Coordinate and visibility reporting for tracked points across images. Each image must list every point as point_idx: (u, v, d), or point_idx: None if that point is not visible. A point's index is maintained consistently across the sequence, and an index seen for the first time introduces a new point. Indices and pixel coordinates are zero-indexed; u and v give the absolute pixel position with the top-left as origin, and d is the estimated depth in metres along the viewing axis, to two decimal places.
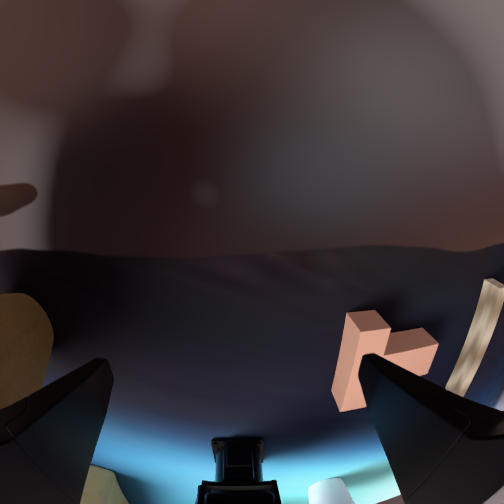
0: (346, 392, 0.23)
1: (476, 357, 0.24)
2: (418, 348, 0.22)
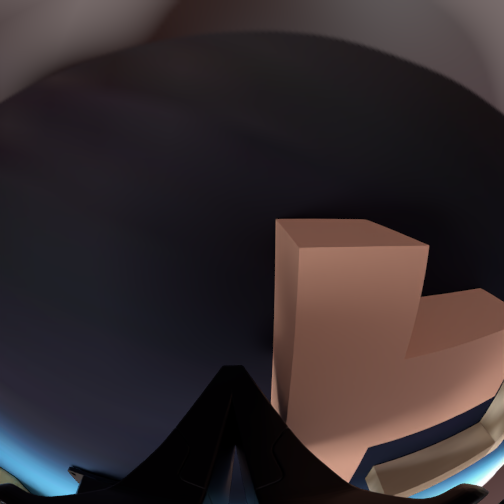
0: None
1: None
2: (495, 333, 0.06)
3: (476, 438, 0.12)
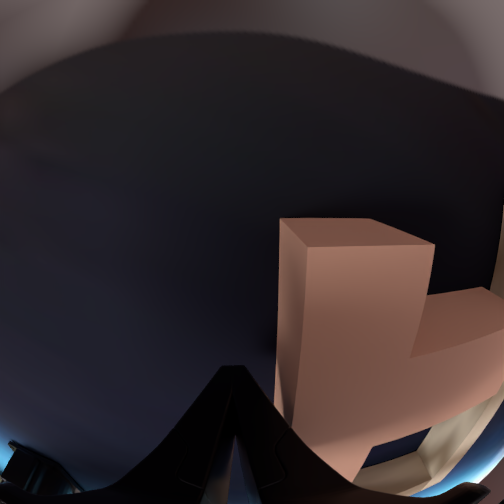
0: None
1: None
2: (498, 332, 0.06)
3: (406, 471, 0.12)
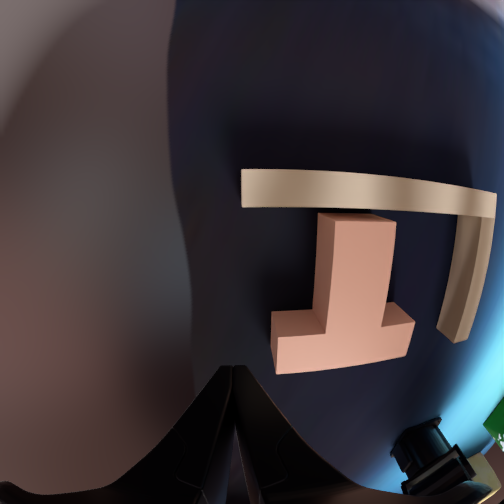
0: (373, 360, 0.17)
1: (402, 206, 0.15)
2: (333, 269, 0.15)
3: (467, 232, 0.17)
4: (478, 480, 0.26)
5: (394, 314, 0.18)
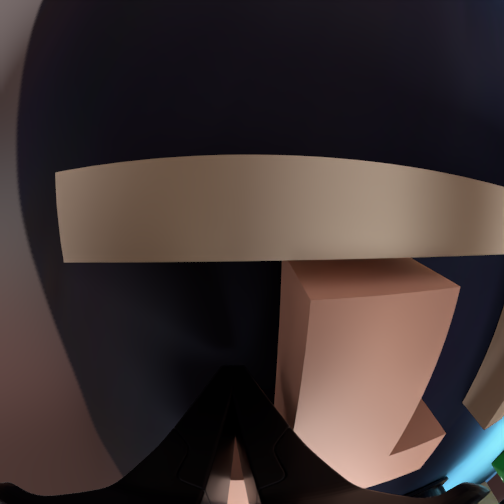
0: (369, 486, 0.08)
1: (463, 247, 0.06)
2: (300, 401, 0.06)
3: None
4: None
5: (414, 419, 0.09)
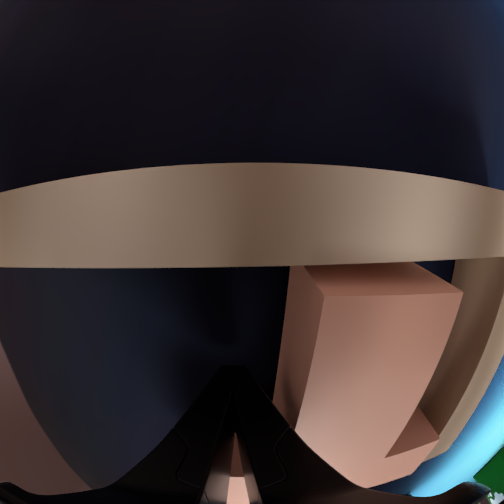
0: None
1: (253, 255, 0.05)
2: (305, 397, 0.06)
3: (475, 284, 0.08)
4: None
5: (409, 424, 0.09)
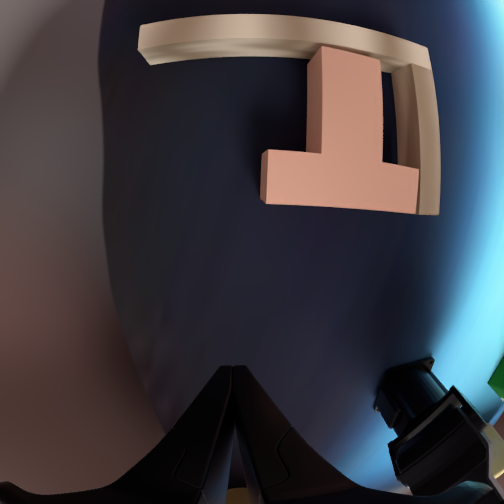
0: (380, 208, 0.16)
1: (296, 37, 0.13)
2: (323, 84, 0.13)
3: (402, 86, 0.15)
4: None
5: None
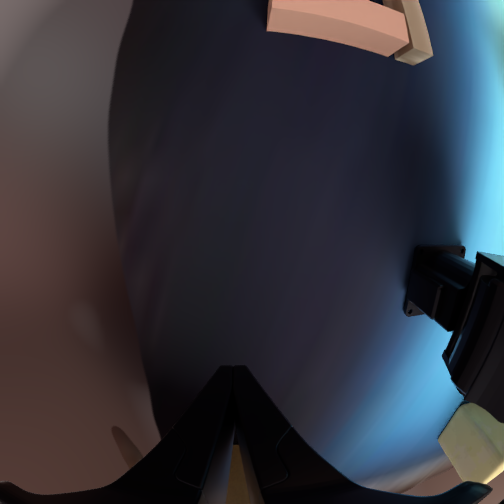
0: (374, 28, 0.13)
1: None
2: None
3: None
4: None
5: None
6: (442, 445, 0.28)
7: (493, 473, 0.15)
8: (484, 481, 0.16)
